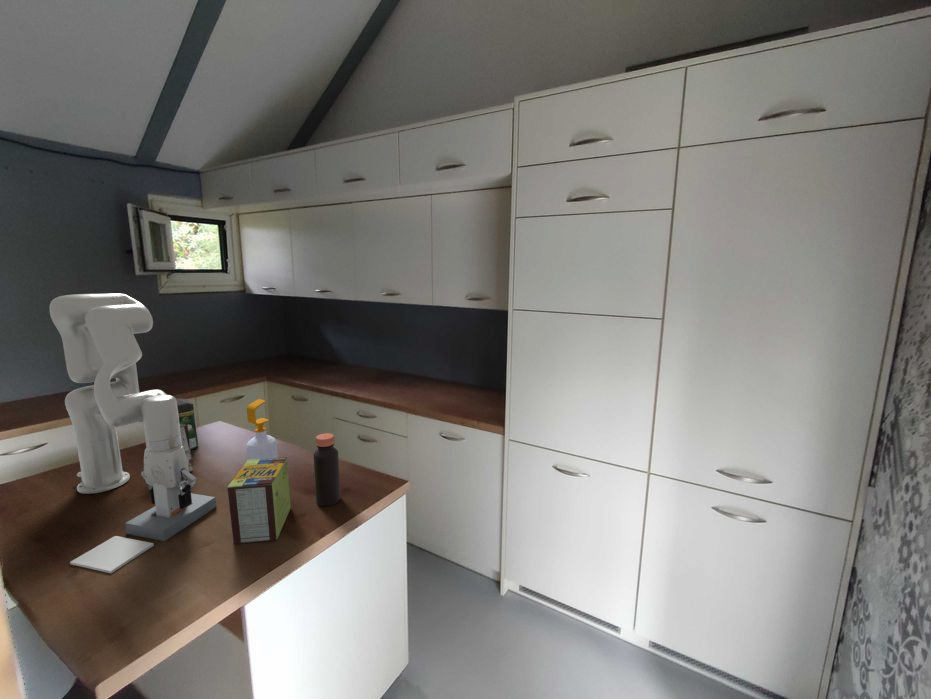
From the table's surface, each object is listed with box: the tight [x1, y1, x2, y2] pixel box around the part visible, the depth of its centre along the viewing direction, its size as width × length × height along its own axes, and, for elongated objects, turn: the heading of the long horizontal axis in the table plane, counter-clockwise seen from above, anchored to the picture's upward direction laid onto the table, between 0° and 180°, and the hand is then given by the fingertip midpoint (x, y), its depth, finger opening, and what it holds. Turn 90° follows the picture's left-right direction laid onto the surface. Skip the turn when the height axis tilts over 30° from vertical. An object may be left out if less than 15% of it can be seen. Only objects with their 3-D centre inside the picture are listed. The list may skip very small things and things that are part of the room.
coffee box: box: [179, 424, 194, 473], centre depth 139 cm, size 9×6×16 cm
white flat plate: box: [69, 535, 155, 574], centre depth 99 cm, size 12×10×1 cm
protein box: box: [227, 457, 292, 545], centre depth 110 cm, size 10×15×16 cm
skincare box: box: [153, 481, 188, 519], centre depth 112 cm, size 6×4×12 cm
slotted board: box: [124, 492, 217, 542], centre depth 113 cm, size 12×16×3 cm
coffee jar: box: [175, 398, 199, 450], centre depth 158 cm, size 10×8×19 cm
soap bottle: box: [246, 398, 279, 460], centre depth 139 cm, size 9×9×25 cm
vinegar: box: [313, 432, 341, 507], centre depth 122 cm, size 7×7×20 cm
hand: (172, 503), depth 113 cm, fingers open, 8 cm apart
